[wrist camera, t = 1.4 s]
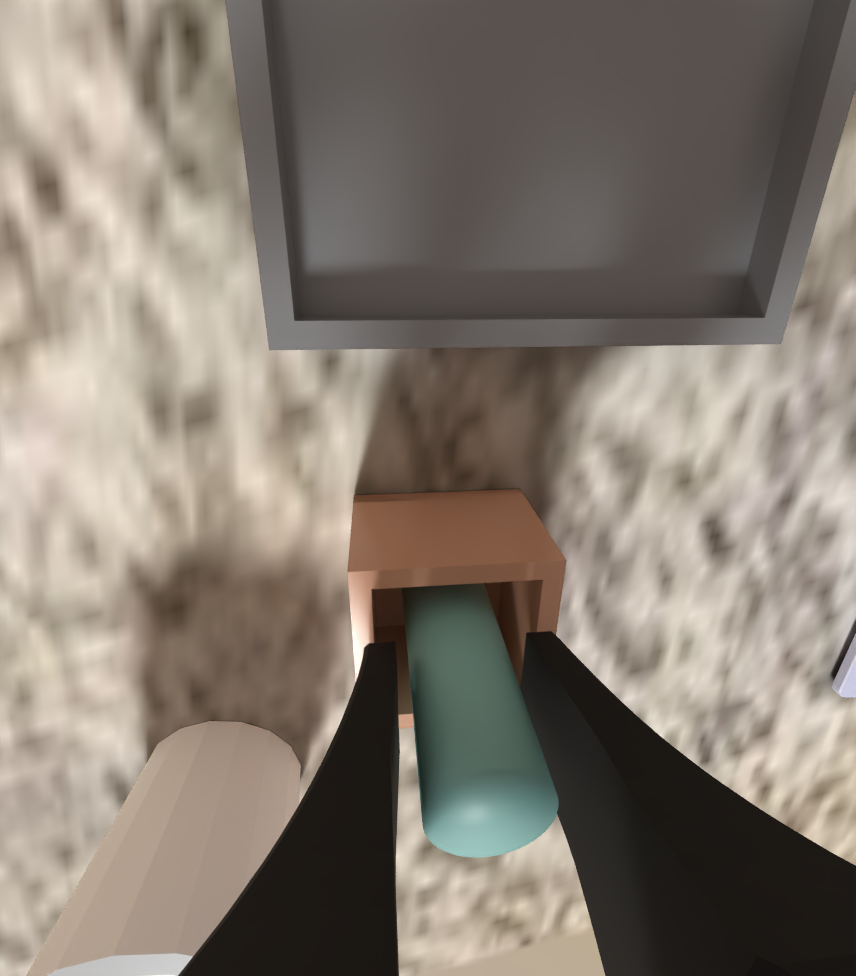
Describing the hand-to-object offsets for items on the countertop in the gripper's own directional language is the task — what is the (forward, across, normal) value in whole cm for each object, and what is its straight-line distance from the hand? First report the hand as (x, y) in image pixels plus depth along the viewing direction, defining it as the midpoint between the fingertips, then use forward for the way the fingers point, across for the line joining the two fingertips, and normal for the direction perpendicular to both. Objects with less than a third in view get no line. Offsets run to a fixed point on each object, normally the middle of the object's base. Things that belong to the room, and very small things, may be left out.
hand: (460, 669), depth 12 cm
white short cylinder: (+5, +8, +9) cm, 13 cm away
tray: (+5, -2, -12) cm, 13 cm away
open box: (+5, 0, 0) cm, 5 cm away
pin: (+4, 0, 0) cm, 4 cm away
